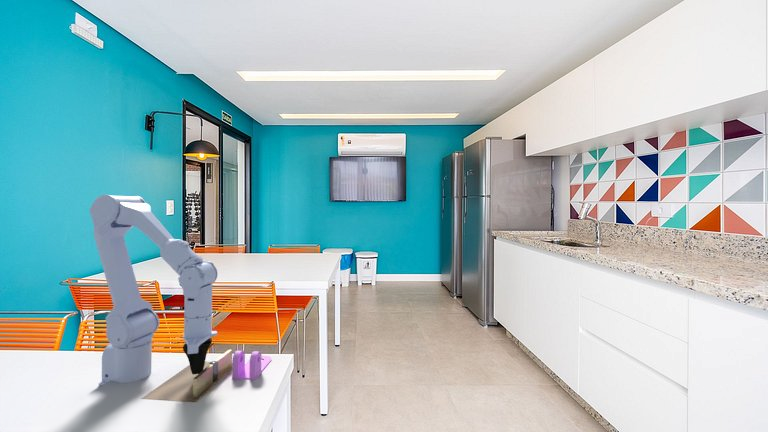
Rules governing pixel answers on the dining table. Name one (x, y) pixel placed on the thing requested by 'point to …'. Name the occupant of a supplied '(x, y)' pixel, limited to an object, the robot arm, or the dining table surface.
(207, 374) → the swing leaf
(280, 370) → the dining table surface
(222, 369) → the fixed leaf
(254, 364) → the bracket
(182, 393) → the walnut board
